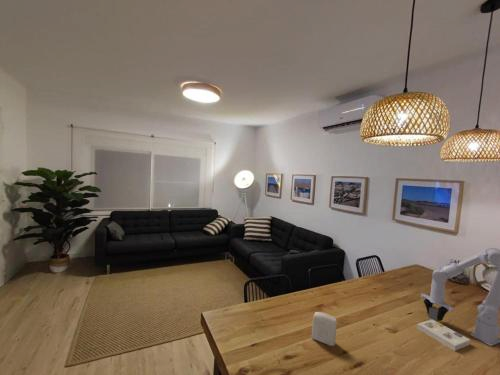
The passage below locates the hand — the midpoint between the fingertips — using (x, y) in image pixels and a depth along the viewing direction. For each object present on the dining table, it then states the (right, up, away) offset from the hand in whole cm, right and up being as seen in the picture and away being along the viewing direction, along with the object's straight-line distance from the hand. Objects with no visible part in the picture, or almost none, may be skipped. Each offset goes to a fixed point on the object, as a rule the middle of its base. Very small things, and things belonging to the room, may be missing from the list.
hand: (434, 317), depth 126 cm
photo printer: (-66, 0, -20) cm, 69 cm away
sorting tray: (-6, -3, -12) cm, 14 cm away
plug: (0, -2, 0) cm, 2 cm away
